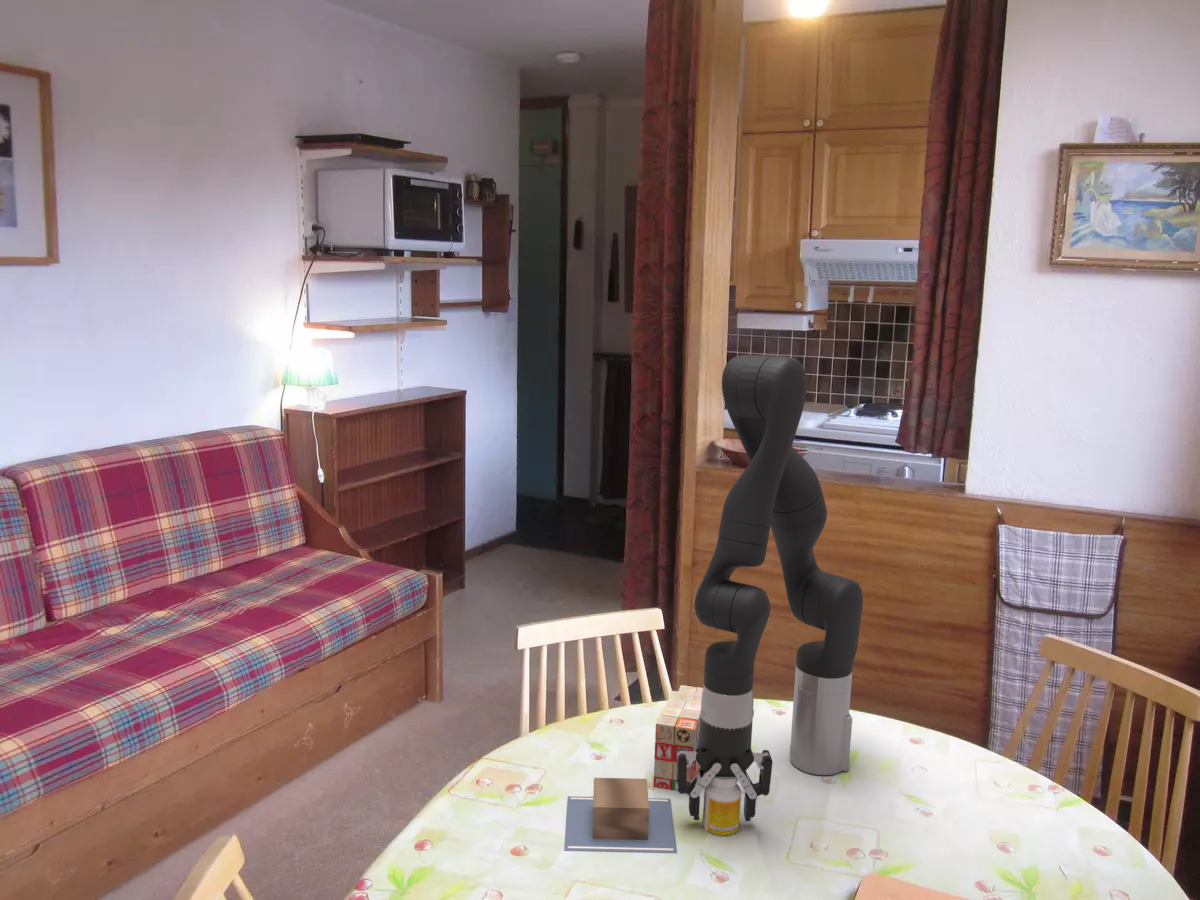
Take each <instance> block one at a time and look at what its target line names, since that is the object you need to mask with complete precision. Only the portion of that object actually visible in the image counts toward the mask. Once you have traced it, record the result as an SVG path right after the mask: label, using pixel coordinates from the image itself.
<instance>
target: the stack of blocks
mask: <svg viewBox="0 0 1200 900" xmlns="http://www.w3.org/2000/svg"><path fill="white" fill-rule="evenodd" d="M702 691H703V687H699V686H697V687H696V686H688V685H682V684H681V685H680V686H679V689H678V691H676V690H671V691H670V693H669V695H668V698H667V701H666V703H665V706H664V707H663V709H662V710H661V713H660V715H659V716H658V718H657V721H656V722H655V734H654V735H655V737H654V738H655V739H654V740H655V742H654V768H653V769H654V770H653V771H654V773H653V774H654V775H653V782H652V783H653V786H652V787H653V788H658V789H665V790H670V791H676V792H679V791H678V784H677V750H678V749H680V748H683V749H684V750H685V751H696V750H697V748H698V746H699V737H700V715H701V697H702ZM699 768H700V765H699V764H698V762H697V761H696V760H694V761H693V762H692V765H691V766H690V767H689V768H687V781H688V782H691V781H692V779H693V778H694V777H695V775H696V772H697V770H698V769H699Z"/></svg>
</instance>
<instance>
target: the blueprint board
mask: <svg viewBox="0 0 1200 900" xmlns="http://www.w3.org/2000/svg"><path fill="white" fill-rule="evenodd" d="M648 800H649V828H648V840H631V839H593V796H578V795H577V796H576V795H575V796H573V795H572V796H570V795H568V796H567V801H566V802H567V803H566V814H565V815H566V816H565V829H564V830H565V834H564V847H563V851H565V852H592V853H593V852H595V853H596V852H598V853H603V852H604V853H636V854H637V853H640V854H641V853H643V854H644V853H645V854H646V853H647V854H678V849H677V841H676V832H675V824H674V817H673V809H672V801H671V798H661V797H660V798H657V797H648Z"/></svg>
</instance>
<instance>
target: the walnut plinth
mask: <svg viewBox="0 0 1200 900" xmlns="http://www.w3.org/2000/svg"><path fill="white" fill-rule="evenodd" d="M592 797H593V839H631V840H648V828H649V800H648V798H649V791H648V780H647V778H631V777H629V778H625V777H624V778H623V777H593V796H592Z"/></svg>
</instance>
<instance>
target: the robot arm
mask: <svg viewBox="0 0 1200 900" xmlns="http://www.w3.org/2000/svg"><path fill="white" fill-rule="evenodd" d="M807 391H808V379H807V372H806V370H805V367H804V365H803V364H802V363H801V362H800V360H798V359H797V358H794V357H791V356H780V355H777V356H776V355H758V354H742V355H737V356H735V357H733V358H731V359H730V360H728V361H727V362H726V365H725V366H724V368H723V371H722V375H721V392H722V397H723V400H724V401H723V403H724V405H725V408H726V410H727V413H728V416H729V418H730V420H731V422H732V424H733V427H734V429H735V431H736V434H737V436H738V438H739V439H740V442H741V444H742V447H743V449H744V452H745V453H746V456H747V459H748V462H749V464H748V465H747V467H746V468H745V469H744V470H743V472H742V473H741V474H740V476H739V477H738V478H737V480H736V481H735V483H733V485H732V487H731V488H730V489H729V492H728V493H727V496H726V499H725V501H724V503H723V506H722V510H721V515H720V516H721V519H720V522H719V523H720V524H719V530H718V535H717V537H718V538H717V541H716V546H715V549H714V552H713V555H712V557H711V559H710V562H709V565H708V568H707V570H706V571H705V574H704V576H703V578H702V581H701V582H700V584H699V587H698V589H697V592H696V594H695V597H694V611H695V615H696V617H697V620H698V621H699V622H700V623H701V624H702V625H704V626H706V627H709V628H714V629H717V630H722V631H726V632H729V633H734V634H736V635H737V637H736V638H737V639H736V640H722V641H721V640H720V641H716V642H713V643H711V644H710V645H708V647H707V649H706V651H705V655H704V671H703V673H704V674H703V687H702V688H703V691H702V697H701V715H700V737H699V746H698V748H697V750H696V751H685V750H684V749H683V748H680V749H678V750H677V784H678V791H677V792H678V793H679V794H680V795H684V794H686V795H688V810H689V816H690V817H693V821H699V820H700V802H701V797H700V794H701V793H702V791H703V790H705V788H706V787H707V786H708V784H709V783H710V781H711V780H712V779H713V777H736V779H737V780H738V781H737V782H739V784H740V785H741V787H742V789H743V790H744V801H743V817H744V820H745V822H751V819H752V818H754V817H755V816H756V807H757V805H756V804H757V798H758V797H760V796H768V795H769V794H770V792H771V791H770V790H771V782H772V770H773V759H772V755H771V753H770V751H769V750H768V749H763V750H762V751H761V752H753V751H752V737H753V736H752V734H753V719H754V715H755V711H754V693H753V692H754V690H753V686H754V685H753V684H754V670H755V661H756V656H757V653H758V649H759V645H760V642H761V639H762V636H763V634H764V631H765V628H766V626H767V623H768V620H769V618H770V614H771V602H770V599H769V596H768V595H767V592H766V591H765V590H764V589H762V588H761V587H759V586H756V585H751V584H748V583H742V582H737V581H732V580H730V578H731V577H732V574H733V573H734V572H735V570H736V569H738V568H757V567H761V566H762V565H763V564H764V562H765V559H766V557H767V556H766V555H767V550H768V549H767V548H768V544H769V538H770V537H769V536H770V532H772V535H773V539H774V542H775V546H776V549H777V553H778V554H777V555H778V557H779V560H780V565H781V570H782V576H783V581H784V586H785V591H786V596H787V601H788V604H789V605H788V606H789V608H790V611H791V614H792V615H793V616H794V617H795V618H796V620H798V621H799V622H801V623H803V624H805V625H808V626H811V627H814V628H817V629H819V630H823V631H825V632H824V633H825V634H824V640H814V641H810V642H805V643H803V644H801V645H800V646H799V647H798V648H797V651H796V655H795V656H796V657H795V673H794V674H795V675H794V685H793V686H794V687H793V690H794V691H793V703H792V718H791V720H792V721H791V731H790V744H789V745H790V746H789V761H790V763H791V765H792V766H794V767H795V768H796V769H799V770H800V771H802V772H805V773H808V774H811V775H817V776H832V775H835V774H839V773H841V772H848V771H849V768H850V767H849V766H850V757H851V755H850V753H851V741H852V729H853V717H852V716H851V714H850V705H851V704H850V703H851V693H852V683H853V682H852V680H853V679H852V677H853V667H854V661H855V658H856V654H857V651H858V645H859V637H860V630H861V623H862V616H863V615H862V614H863V607H864V595H863V590H862V587H861V585H860V584H859V583H858V582H857V581H855V580H854V579H850V578H847V577H845V576H841V575H837V574H834V573H831V572H828V571H823V570H822V569H821V568H820V567H819V566H818V563H817V561H816V558H815V553H814V547H815V545H816V543H817V541H818V539H819V538H820V536H821V534H822V533H823V530H824V529H825V525H826V522H827V518H828V509H827V505H826V504H827V503H826V500H825V497H824V493H823V489H822V487H821V483H820V482H821V481H820V480H819V478H818V475H817V474H816V472H815V470H814V469H813V468H812V466H811V465H810V464H809V463H808V461H807V460H806V459H805V457H803V456H802V455H801V454H800V453H799V452H798V451H797V449H795V447H793V444H794V439H795V437H796V434H797V431H798V427H799V424H800V421H801V419H802V414H803V411H804V407H805V403H806V398H807ZM770 530H771V531H770ZM694 760H696V761H697V762H698V764H699V765H700V768H699V769H698V770H697V772H696V775H695V777H694V778H693V779H692V781H691V782H688V781H687V768H689V767H690V766H691V765H692V762H693V761H694ZM754 762H755V764H756V767H757V768H758V769H759V775H758V782H755V783H754V782H753V781H752V779H751V778H750V776H749V774H748V771H747V770H748V769H749V768H750V767H751V765H752V764H753V763H754Z"/></svg>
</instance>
